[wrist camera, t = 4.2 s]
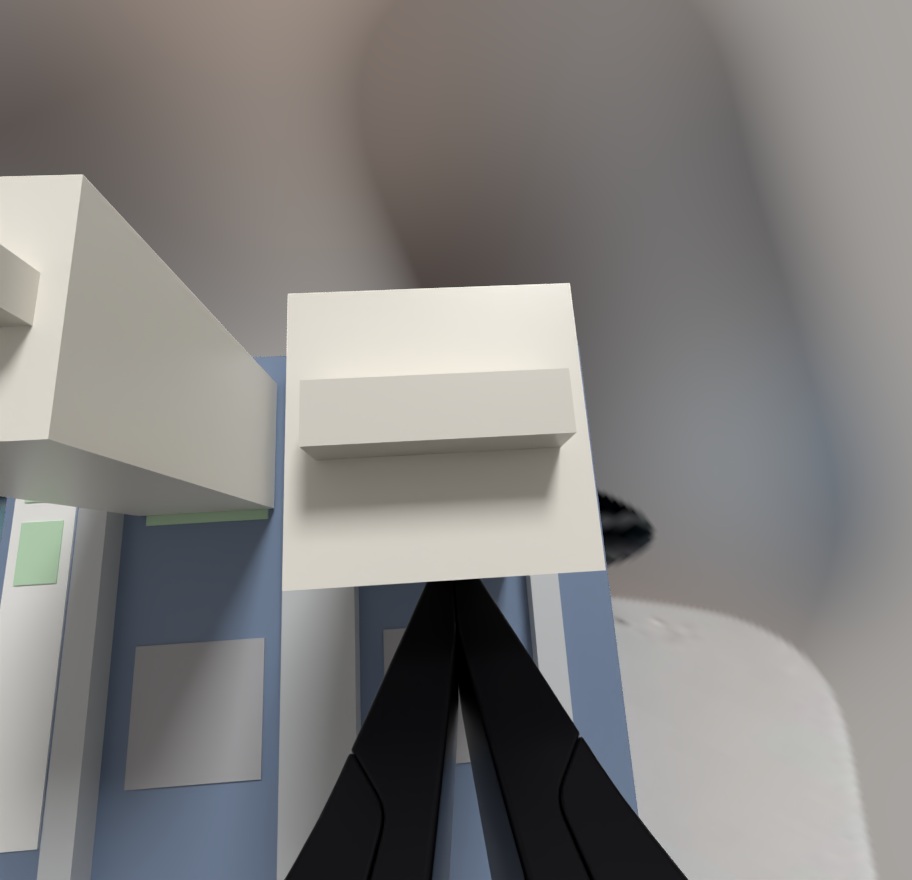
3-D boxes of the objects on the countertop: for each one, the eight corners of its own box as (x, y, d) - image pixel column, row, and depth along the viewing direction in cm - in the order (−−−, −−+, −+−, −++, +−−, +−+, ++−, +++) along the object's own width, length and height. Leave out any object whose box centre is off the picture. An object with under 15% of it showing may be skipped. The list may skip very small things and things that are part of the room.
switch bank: (637, 917, 14) (669, 975, 12) (-26, 982, 13) (-105, 1054, 11) (569, 357, 18) (585, 333, 16) (54, 380, 17) (5, 357, 15)
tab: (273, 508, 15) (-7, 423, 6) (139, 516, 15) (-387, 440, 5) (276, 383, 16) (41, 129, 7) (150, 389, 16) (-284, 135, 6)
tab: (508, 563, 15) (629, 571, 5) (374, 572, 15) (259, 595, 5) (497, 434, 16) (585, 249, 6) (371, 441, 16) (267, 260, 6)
